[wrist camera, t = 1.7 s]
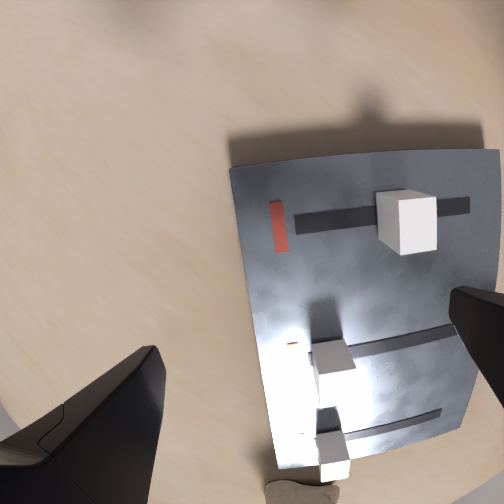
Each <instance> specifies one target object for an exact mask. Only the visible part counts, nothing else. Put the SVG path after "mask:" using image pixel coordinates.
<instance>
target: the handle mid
mask: <svg viewBox="0 0 504 504" xmlns="http://www.w3.org/2000/svg"><path fill="white" fill-rule="evenodd" d="M311 347H312V361H313V377H314V382H315V386H316V391H317V396H318V400H319V405H320V408H326V407H332V406H338V405H343V404H349V403H354V402H355V395H356V372H357V368H356V366H355V363H354V361H353V358H352V356H351V354H350V351H349V349H348V346H347V344H346V342H345V339H342V340H335V341H329V342H323V343H316V344H311Z"/></svg>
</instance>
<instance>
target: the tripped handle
mask: <svg viewBox="0 0 504 504" xmlns="http://www.w3.org/2000/svg"><path fill="white" fill-rule="evenodd" d="M376 202H377V217H378V237H379V240H381V241H382V242H383V243H385V244H386V245H387V246H389V247H390V248H391V249H392V250H394V251H395V252H396V253H398V254H399V255H406V254H413V253H419V252H425V251H432V250H437V206H436V197H435V196H431V195H428V194H424V193H421V192H417V191H413V190H410V189H408V190H397V191H386V192H376Z"/></svg>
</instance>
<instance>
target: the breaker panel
mask: <svg viewBox="0 0 504 504" xmlns="http://www.w3.org/2000/svg"><path fill="white" fill-rule="evenodd" d="M229 174H230V180H231V187H232V193H233V199H234V206H235V212H236V218H237V225H238V231H239V237H240V243H241V250H242V256H243V262H244V268H245V274H246V280H247V287H248V293H249V299H250V305H251V311H252V317H253V323H254V329H255V335H256V341H257V347H258V353H259V359H260V365H261V371H262V376H263V382H264V388H265V394H266V400H267V406H268V411H269V417H270V423H271V429H272V434H273V440H274V446H275V451H276V457H277V463H278V468H279V469H288V468H297V467H305V466H312V465H318V459H317V446H316V434H323V433H329V432H335V431H340V430H343V433H344V437H345V441H346V444H347V448H348V452H349V456H350V459H353V458H358V457H363V456H367V455H372V454H376V453H380V452H384V451H388V450H392V449H396V448H399V447H403V446H406V445H410V444H413V443H416V442H420V441H423V440H426V439H429V438H432V437H435V436H438V435H441V434H444V433H447V432H449V431H452V430H455V429H457V428H460V425H461V423H462V420H463V417H464V414H465V412H466V409H467V406H468V403H469V400H470V397H471V394H472V391H473V387H474V384H475V381H476V377H477V374H478V370H479V368H478V367H477V365H476V364H475V362H474V361H473V359H472V358H471V356H470V355H469V353H468V351H467V349H466V348H465V346H464V344H463V342H462V340H461V338H460V337H459V335H458V333H457V331H456V329H455V328H454V326H453V324H452V322H451V321H450V318H449V314H448V310H449V301H450V292H451V290H452V289H453V288H455V287H458V286H468V287H473V288H478V289H483V290H488V291H493V292H495V287H496V279H497V271H498V261H499V250H500V234H501V167H500V152H499V150H498V149H420V150H397V151H379V152H365V153H352V154H340V155H329V156H319V157H309V158H300V159H292V160H283V161H276V162H268V163H261V164H253V165H246V166H240V167H233V168H229ZM408 189H410V190H413V191H417V192H421V193H424V194H428V195H431V196H435V197H436V206H437V250H432V251H425V252H419V253H413V254H406V255H399V254H398V253H396V252H395V251H394V250H392V249H391V248H390V247H389V246H387V245H386V244H385V243H383V242H382V241H381V240H379V237H378V217H377V202H376V192H386V191H397V190H408ZM342 339H345V342H346V344H347V346H348V349H349V351H350V354H351V356H352V358H353V361H354V363H355V366H356V368H357V372H356V395H355V402H354V403H349V404H343V405H338V406H332V407H326V408H320V405H319V400H318V396H317V391H316V386H315V382H314V377H313V361H312V347H311V344H316V343H323V342H329V341H335V340H342Z"/></svg>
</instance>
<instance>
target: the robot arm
mask: <svg viewBox="0 0 504 504" xmlns="http://www.w3.org/2000/svg"><path fill="white" fill-rule="evenodd" d="M448 314H449V318H450V321H451V322H452V324H453V326H454V328H455V329H456V331H457V333H458V335H459V337H460V338H461V340H462V342H463V344H464V346H465V348H466V349H467V351H468V353H469V355H470V356H471V358H472V359H473V361H474V362H475V364H476V365H477V367H478V368H479V370H480V371H481V373H482V374H483V376H484V377H485V379H486V381H487V382H488V384H489V385H490V387H491V388H492V390H493V392H494V393H495V395H496V397H497V398H498V400H499V401H500V403H501V405H502V406H503V408H504V294H503V293H498V292H493V291H488V290H483V289H478V288H473V287H468V286H458V287H455V288H453V289H452V290H451V292H450V301H449V310H448ZM165 384H166V369H165V366H164V363H163V361H162V358H161V355H160V353H159V350H158V348H157V347H156V346H155V345H150V346H143V347H141V348H140V349H138V350H137V351H135V352H134V353H133V354H131V355H130V356H128V357H127V358H126V359H124V360H123V361H121V362H120V363H119V364H117V365H116V366H114V367H113V368H112V369H110V370H109V371H107V372H106V373H105V374H103V375H102V376H100V377H99V378H97V379H96V380H95V381H93V382H92V383H90V384H89V385H88V386H86V387H85V388H83V389H82V390H81V391H79V392H78V393H76V394H75V395H73V396H72V397H71V398H69V399H68V400H66V401H65V402H64V404H60V405H59V406H58V407H56V408H55V409H53V410H52V411H50V412H49V413H47V414H46V415H44V416H43V417H41V418H40V419H38V420H37V421H35V422H33V423H32V424H30V425H28V426H27V427H25V428H23V429H22V430H20V431H18V432H16V433H15V434H13V435H11V436H10V437H8V438H6V439H4V440H3V441H1V442H0V504H147V501H148V495H149V489H150V483H151V477H152V472H153V466H154V461H155V455H156V450H157V444H158V439H159V434H160V429H161V424H162V418H163V409H164V396H165Z"/></svg>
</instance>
